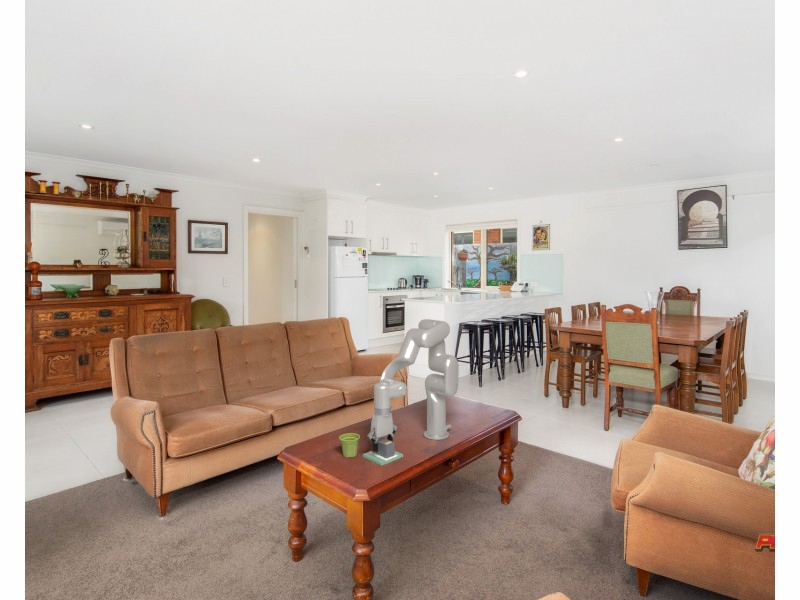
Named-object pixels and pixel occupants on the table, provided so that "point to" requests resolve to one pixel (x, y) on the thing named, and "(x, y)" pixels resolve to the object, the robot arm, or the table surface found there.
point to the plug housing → (385, 448)
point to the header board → (381, 458)
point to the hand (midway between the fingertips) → (382, 448)
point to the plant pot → (349, 444)
